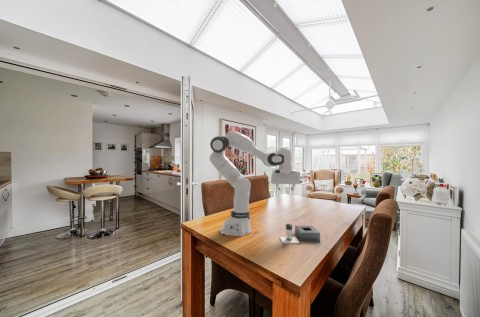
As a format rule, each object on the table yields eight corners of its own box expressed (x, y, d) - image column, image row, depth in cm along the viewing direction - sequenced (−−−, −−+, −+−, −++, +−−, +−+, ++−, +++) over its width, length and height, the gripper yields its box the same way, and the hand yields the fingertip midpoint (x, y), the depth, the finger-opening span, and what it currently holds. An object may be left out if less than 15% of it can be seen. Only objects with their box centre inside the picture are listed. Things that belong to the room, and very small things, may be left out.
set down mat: (282, 243, 103) (282, 242, 104) (279, 237, 111) (279, 237, 112) (299, 243, 103) (299, 242, 103) (295, 238, 111) (295, 237, 111)
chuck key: (285, 238, 109) (284, 224, 109) (289, 237, 110) (289, 223, 111) (288, 241, 106) (288, 226, 106) (293, 240, 107) (293, 225, 107)
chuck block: (300, 240, 107) (300, 232, 107) (295, 233, 119) (294, 225, 119) (320, 240, 107) (320, 232, 107) (312, 233, 119) (312, 225, 119)
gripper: (298, 170, 126) (299, 189, 125) (270, 170, 127) (270, 189, 126) (301, 170, 119) (301, 191, 119) (271, 170, 120) (271, 190, 120)
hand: (285, 190), depth 123 cm, fingers open, 8 cm apart
